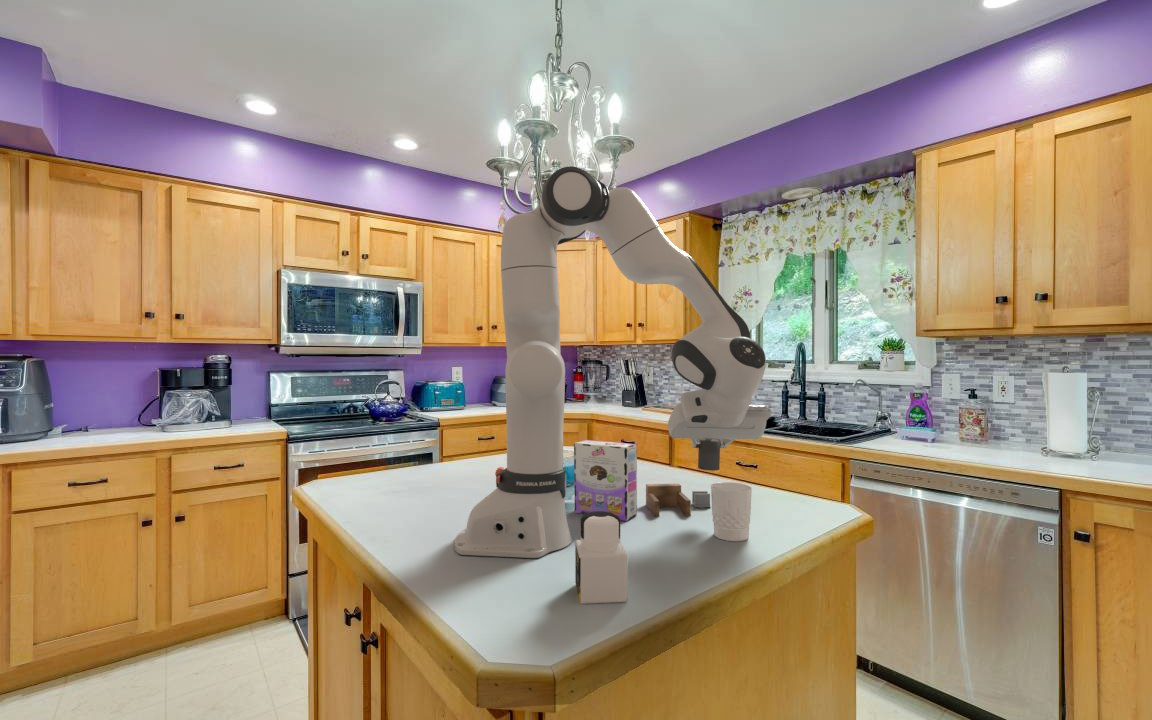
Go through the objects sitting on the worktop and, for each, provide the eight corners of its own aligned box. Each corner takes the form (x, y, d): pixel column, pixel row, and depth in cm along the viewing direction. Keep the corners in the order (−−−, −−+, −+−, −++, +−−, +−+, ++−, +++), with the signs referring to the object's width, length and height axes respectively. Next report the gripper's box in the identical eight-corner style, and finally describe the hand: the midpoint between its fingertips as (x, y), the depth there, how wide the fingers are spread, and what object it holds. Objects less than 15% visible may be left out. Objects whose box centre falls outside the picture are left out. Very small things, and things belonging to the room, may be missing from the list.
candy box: (638, 515, 121) (638, 443, 121) (626, 522, 117) (626, 447, 116) (586, 506, 129) (586, 438, 129) (573, 512, 124) (573, 441, 124)
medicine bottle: (575, 584, 85) (575, 508, 85) (619, 582, 85) (619, 507, 85) (579, 604, 78) (579, 522, 77) (627, 602, 78) (627, 521, 78)
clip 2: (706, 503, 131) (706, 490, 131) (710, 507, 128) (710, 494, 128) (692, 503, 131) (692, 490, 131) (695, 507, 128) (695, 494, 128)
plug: (701, 470, 116) (702, 427, 116) (695, 466, 120) (696, 424, 120) (722, 470, 116) (723, 427, 116) (715, 466, 121) (716, 424, 121)
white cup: (754, 544, 103) (754, 492, 103) (711, 541, 104) (711, 490, 104) (749, 531, 111) (749, 482, 110) (710, 528, 112) (710, 481, 112)
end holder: (655, 516, 121) (654, 494, 120) (645, 504, 130) (645, 484, 130) (690, 516, 121) (690, 493, 121) (678, 504, 131) (678, 483, 131)
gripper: (769, 395, 112) (749, 435, 122) (673, 393, 110) (661, 433, 120) (778, 418, 108) (757, 458, 117) (679, 416, 106) (665, 457, 116)
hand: (708, 445), depth 119 cm, fingers closed on plug, 5 cm apart
